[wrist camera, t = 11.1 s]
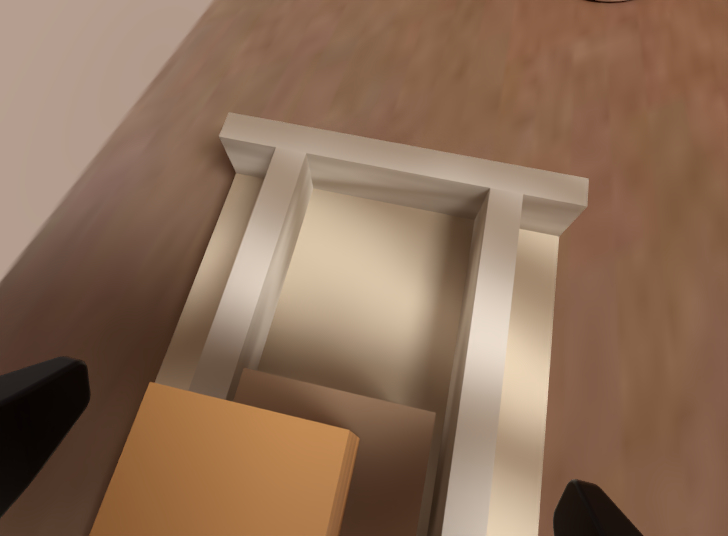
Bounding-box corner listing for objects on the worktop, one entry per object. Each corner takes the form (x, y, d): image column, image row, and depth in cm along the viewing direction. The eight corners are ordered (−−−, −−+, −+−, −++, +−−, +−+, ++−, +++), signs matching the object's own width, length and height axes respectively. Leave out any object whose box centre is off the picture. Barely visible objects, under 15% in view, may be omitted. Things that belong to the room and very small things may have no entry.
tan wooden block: (386, 586, 14) (530, 1580, 2) (233, 545, 14) (-501, 1122, 2) (414, 421, 16) (585, 350, 4) (278, 389, 16) (14, 226, 4)
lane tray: (500, 789, 13) (553, 925, 10) (69, 659, 14) (-34, 735, 11) (548, 212, 20) (589, 160, 17) (257, 156, 22) (235, 96, 18)
